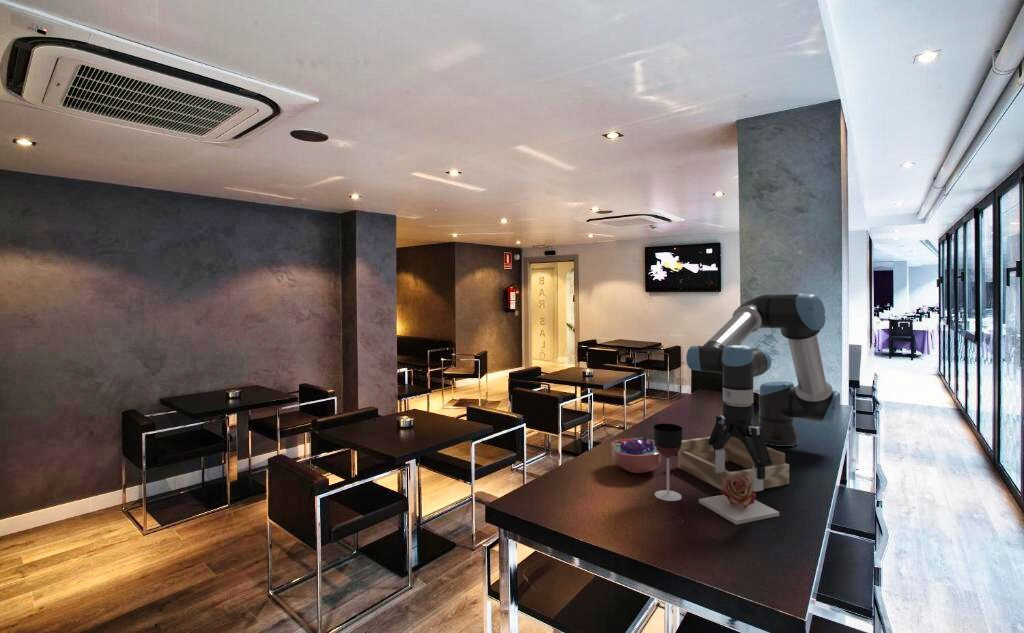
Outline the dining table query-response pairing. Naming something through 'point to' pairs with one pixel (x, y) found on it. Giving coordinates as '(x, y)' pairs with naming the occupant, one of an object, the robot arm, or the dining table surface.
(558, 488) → the dining table surface
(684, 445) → the frame
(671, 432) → the wineglass
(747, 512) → the tile
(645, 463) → the cell model
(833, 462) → the dining table surface
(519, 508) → the dining table surface
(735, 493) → the flower
